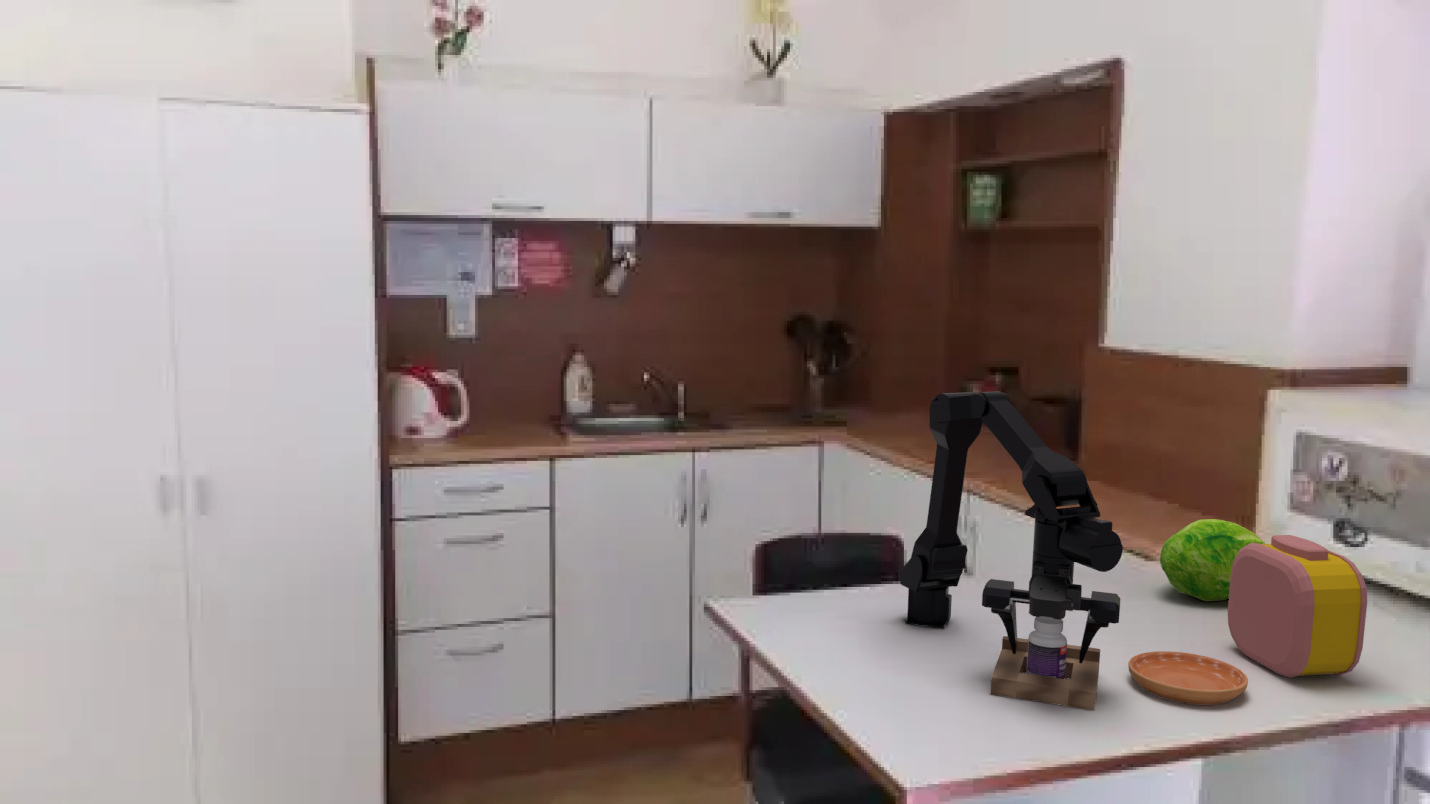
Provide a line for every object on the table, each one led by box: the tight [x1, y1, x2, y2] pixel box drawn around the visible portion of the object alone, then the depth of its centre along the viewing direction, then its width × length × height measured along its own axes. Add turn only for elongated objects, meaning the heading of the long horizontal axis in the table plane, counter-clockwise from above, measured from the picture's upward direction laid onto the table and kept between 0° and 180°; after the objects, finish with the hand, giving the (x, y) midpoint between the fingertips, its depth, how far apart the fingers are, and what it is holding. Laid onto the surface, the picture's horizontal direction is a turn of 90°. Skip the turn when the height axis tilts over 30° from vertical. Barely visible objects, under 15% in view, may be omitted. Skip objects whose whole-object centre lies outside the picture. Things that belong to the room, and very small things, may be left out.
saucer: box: [1127, 650, 1249, 706], centre depth 163 cm, size 16×16×3 cm
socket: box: [990, 635, 1101, 711], centre depth 163 cm, size 14×14×4 cm
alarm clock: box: [1227, 534, 1368, 679], centre depth 172 cm, size 18×11×19 cm, turn 9°
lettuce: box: [1159, 518, 1266, 602], centre depth 206 cm, size 15×23×16 cm
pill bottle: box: [1026, 616, 1068, 679], centre depth 163 cm, size 5×5×10 cm
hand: (1047, 657), depth 163 cm, fingers open, 9 cm apart
